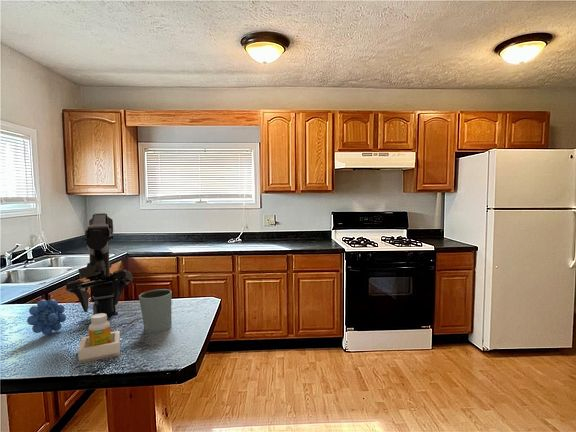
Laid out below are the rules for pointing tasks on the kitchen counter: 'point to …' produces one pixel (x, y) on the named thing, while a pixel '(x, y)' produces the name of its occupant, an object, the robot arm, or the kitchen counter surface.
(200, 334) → the kitchen counter surface
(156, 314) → the grey green cup
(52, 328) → the grapes
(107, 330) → the supplement bottle
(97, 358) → the cream square tray
